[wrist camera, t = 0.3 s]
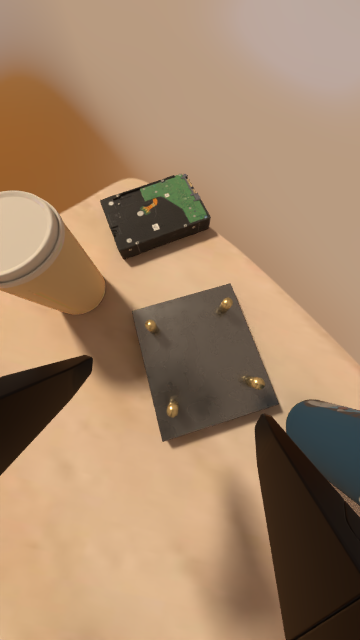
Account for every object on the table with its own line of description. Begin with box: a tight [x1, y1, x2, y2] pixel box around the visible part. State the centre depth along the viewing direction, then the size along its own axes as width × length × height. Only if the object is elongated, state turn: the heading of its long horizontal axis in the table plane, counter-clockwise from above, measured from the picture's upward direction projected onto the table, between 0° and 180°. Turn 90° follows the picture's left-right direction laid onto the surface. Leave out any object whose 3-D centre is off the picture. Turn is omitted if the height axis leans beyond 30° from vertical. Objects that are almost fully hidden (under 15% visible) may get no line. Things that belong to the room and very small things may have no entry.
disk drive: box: [100, 174, 211, 259], centre depth 29 cm, size 10×3×15 cm
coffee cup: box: [0, 191, 106, 315], centre depth 21 cm, size 9×9×12 cm
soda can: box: [286, 400, 360, 505], centre depth 16 cm, size 7×7×12 cm
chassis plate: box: [132, 283, 279, 442], centre depth 22 cm, size 16×14×4 cm
